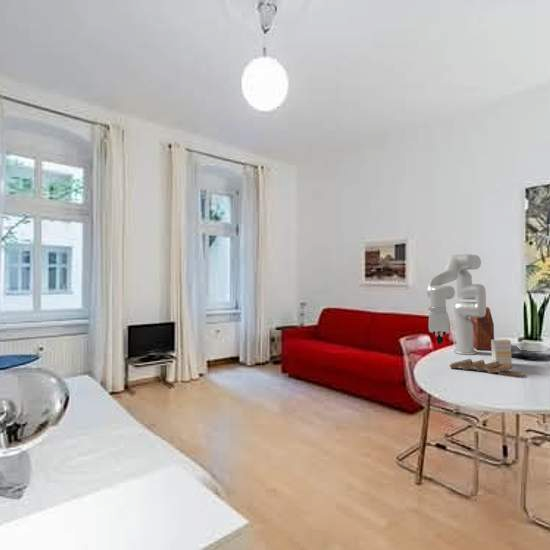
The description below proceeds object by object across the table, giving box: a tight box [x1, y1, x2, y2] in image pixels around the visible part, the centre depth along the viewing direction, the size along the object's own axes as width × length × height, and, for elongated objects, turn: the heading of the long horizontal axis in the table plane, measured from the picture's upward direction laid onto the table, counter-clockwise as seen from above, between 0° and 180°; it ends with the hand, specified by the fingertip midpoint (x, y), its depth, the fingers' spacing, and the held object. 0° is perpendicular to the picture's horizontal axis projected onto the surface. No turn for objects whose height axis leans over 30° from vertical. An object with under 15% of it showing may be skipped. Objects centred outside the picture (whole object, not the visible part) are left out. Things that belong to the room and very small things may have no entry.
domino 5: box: [497, 370, 525, 379], centre depth 187 cm, size 2×5×10 cm
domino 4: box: [486, 364, 514, 374], centre depth 189 cm, size 2×5×10 cm
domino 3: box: [475, 361, 501, 372], centre depth 194 cm, size 2×5×10 cm
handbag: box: [469, 306, 495, 351], centre depth 254 cm, size 10×19×35 cm, turn 163°
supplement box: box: [491, 339, 513, 366], centre depth 208 cm, size 8×5×13 cm, turn 84°
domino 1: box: [449, 358, 473, 369], centre depth 201 cm, size 2×5×10 cm
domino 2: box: [461, 359, 486, 371], centre depth 198 cm, size 2×5×10 cm
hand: (440, 343), depth 210 cm, fingers closed
